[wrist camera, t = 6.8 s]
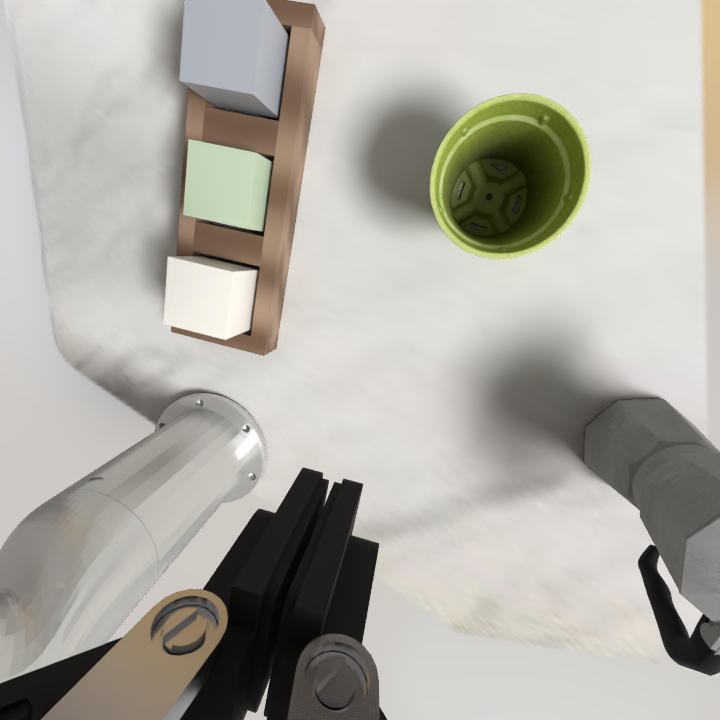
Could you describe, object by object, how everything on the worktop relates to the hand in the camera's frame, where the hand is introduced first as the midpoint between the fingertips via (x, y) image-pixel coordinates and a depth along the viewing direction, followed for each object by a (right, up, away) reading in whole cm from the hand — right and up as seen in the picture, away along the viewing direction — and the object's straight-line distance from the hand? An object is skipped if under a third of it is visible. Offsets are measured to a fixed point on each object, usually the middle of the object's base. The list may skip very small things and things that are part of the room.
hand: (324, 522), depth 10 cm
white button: (-11, +10, +26) cm, 30 cm away
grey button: (-8, +27, +21) cm, 35 cm away
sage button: (-9, +19, +25) cm, 32 cm away
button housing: (-9, +19, +25) cm, 33 cm away
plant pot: (+12, +18, +22) cm, 30 cm away
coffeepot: (+25, -4, +25) cm, 36 cm away
